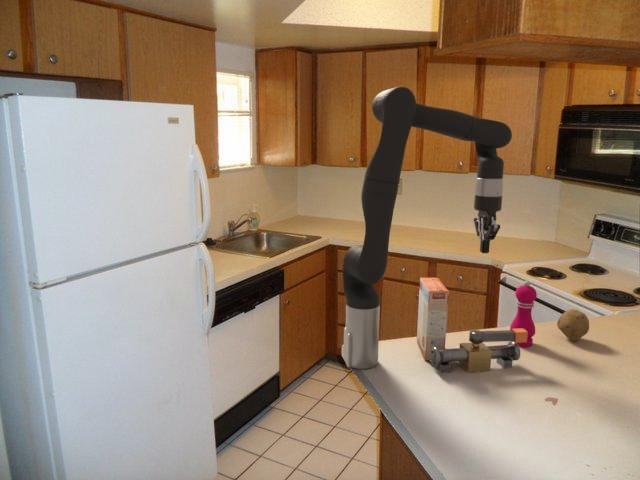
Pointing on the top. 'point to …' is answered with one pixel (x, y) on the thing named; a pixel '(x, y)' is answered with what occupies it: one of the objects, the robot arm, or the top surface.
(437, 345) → the cracker box
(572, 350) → the top surface
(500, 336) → the lever
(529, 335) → the pepper mill
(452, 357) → the valve pipe
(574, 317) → the brown rounded lump
